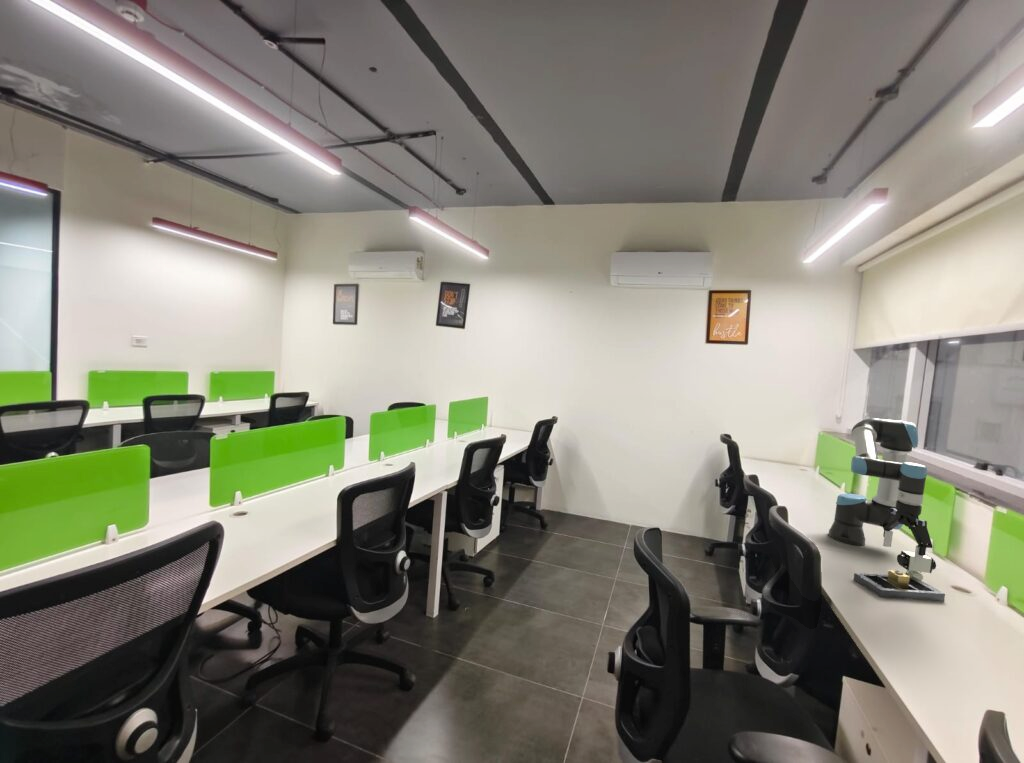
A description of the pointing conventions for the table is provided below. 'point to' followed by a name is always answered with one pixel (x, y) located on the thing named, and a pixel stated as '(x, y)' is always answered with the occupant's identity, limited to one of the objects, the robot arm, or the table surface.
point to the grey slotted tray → (915, 589)
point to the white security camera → (915, 564)
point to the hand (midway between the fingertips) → (901, 554)
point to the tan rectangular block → (898, 579)
